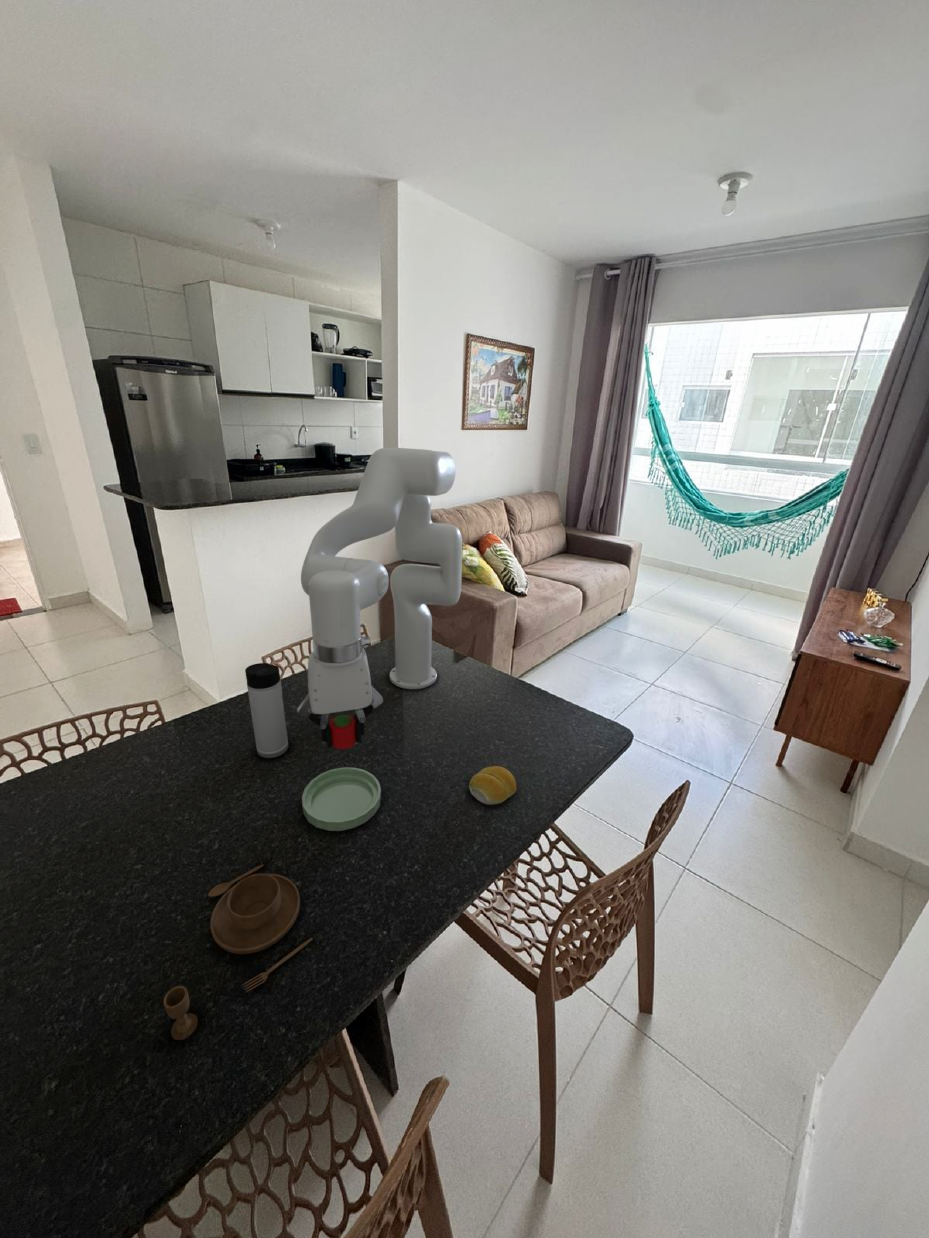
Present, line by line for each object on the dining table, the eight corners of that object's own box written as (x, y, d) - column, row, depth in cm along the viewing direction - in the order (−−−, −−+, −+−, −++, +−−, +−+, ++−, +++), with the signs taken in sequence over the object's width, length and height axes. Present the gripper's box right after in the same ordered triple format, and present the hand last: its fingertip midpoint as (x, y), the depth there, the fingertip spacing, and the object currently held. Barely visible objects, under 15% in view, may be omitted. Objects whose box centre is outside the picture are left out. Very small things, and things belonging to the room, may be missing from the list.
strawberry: (329, 736, 91) (327, 714, 89) (354, 731, 92) (353, 710, 90) (332, 751, 87) (330, 728, 85) (358, 746, 88) (357, 724, 87)
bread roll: (523, 789, 100) (525, 773, 99) (493, 812, 94) (495, 796, 93) (491, 768, 105) (492, 752, 104) (461, 789, 99) (462, 773, 98)
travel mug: (249, 754, 106) (235, 670, 98) (271, 736, 112) (260, 656, 104) (273, 763, 104) (261, 678, 96) (294, 744, 110) (285, 662, 102)
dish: (300, 786, 98) (299, 775, 97) (373, 771, 103) (373, 761, 102) (306, 841, 86) (304, 830, 85) (387, 822, 91) (387, 811, 90)
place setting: (328, 931, 72) (325, 902, 70) (178, 1050, 59) (168, 1020, 56) (267, 858, 83) (263, 831, 81) (128, 944, 69) (118, 915, 67)
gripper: (384, 632, 88) (386, 720, 96) (281, 643, 83) (291, 736, 90) (394, 651, 82) (395, 744, 89) (283, 664, 76) (294, 763, 84)
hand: (343, 739), depth 90 cm, fingers closed on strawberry, 4 cm apart
